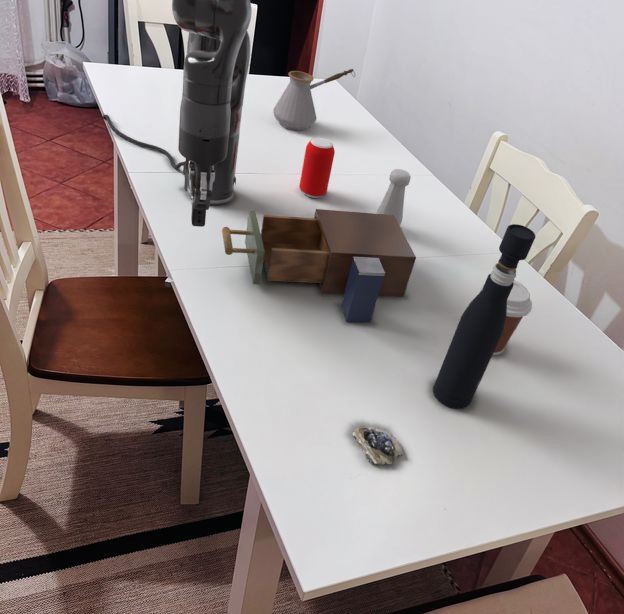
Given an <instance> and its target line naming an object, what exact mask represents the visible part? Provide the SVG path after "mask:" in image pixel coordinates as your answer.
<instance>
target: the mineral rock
mask: <svg viewBox="0 0 624 614" xmlns="http://www.w3.org/2000/svg"><path fill="white" fill-rule="evenodd" d="M352 436H353V437H354V438H355V441H356V442H357V443H359V446H360V447H361V448H362V452H363V453H365V457H366V460H368V462H369V463H371V464H373V465H374V464H375V465H376V464H377V465H380V466H381V465H385V464H387V465H392V464H393V463H394V460H395V461H397V459H398V456H402V455H405V450H404V449H403V447H402V445H401V443H400V441H399V440H397V439H396V437H395V436H394V435H393V434H392V433H391V432H389V431H387V430H386V429H382V428H379V427H375V428H374V427H373V426H366V425H359V426H357V427H354V430H352Z"/></svg>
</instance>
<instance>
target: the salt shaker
mask: <svg viewBox="0 0 624 614" xmlns="http://www.w3.org/2000/svg"><path fill="white" fill-rule="evenodd" d="M411 177H412V176H411V174H410V173H409V171H407V170H405V169H402V168H394V169H392V170H391V172H390V174H389V177H388V179H389V182H390V184H389V185H388V188H387V190H386V191H385V194H384V196H383V198H382V201H381V203H380V205H379V207H378V209H377V211H376V213H375V214H387V215H394V216H395V218H396V220H397V222H398V223H399V225H400V226H401V225H402V222H403V216H404V204H405V203H404V202H405V192H406V187H409V185H410V183H411Z"/></svg>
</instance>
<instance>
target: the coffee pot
mask: <svg viewBox="0 0 624 614" xmlns="http://www.w3.org/2000/svg"><path fill="white" fill-rule="evenodd" d="M287 74H288V78H289V83H288V84H287V86H286V88H285V89H284V91H283V92H282V94H281V95H280V97H279V99H278V101H277V102H276V104H275V106H274V107H273V109H272V113H273V116H274V118H275V120H276V121H277V122H278V123H279V125H280V126H281V127H282V128H285V129H288V130H291V131H296V132H297V131H298V132H300V131H302V132H303V131H306V130H308V128H310V127H312V126H313V125H314V124H315V122H316V121H317V113H316V108H315V104H314V100H313V94H312V89H315V88H317V87H319V86H321V85H324V84H327V83H330V82H333V81H336V80H339V79H340V78H342V77H344V76H348V74H351V76H352V77H353V78H355V77H356V72H355V71H354V68H349V69H348V70H343V72H338V73H336V74H333V75H331V76H329V77H327V78H325V79H323V80H320V81H318V82H315V83H313V84H311V83H312V82H313V81H314V77H313V75H311V74H309V73H307V72H304V71H299V70H291V71H289V72H288V73H287ZM353 74H354V75H353Z"/></svg>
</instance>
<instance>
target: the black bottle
mask: <svg viewBox="0 0 624 614" xmlns="http://www.w3.org/2000/svg"><path fill="white" fill-rule="evenodd" d="M535 239H536V234H535V232H534V231H533V230H532V229H531V228H529V227H527V226H525V225H522V224H517V223H516V224H515V223H512V224H509V225H508V226H507V227H506V229H505V232H504V234H503V237H502V239H501V242H500V244H499V247H498V250H499V252H500V253H501V255H500V257H499V259H498V261H497V262H496V263H495V264H494V266H493V267H492V270H491V271H490V273H488V275H487V277H486V279H485V282H484V284H483V285H484V287H483V289H482V291H481V292H480V291H479V292H478V294H476V296H475V297H474V298H473V299H472V300H471V301H470V302H469V304H467V306H466V308H465V310H464V311H463V313H462V315H461V317H460V319H459V321H458V323H457V326H456V328H455V331H454V334H453V336H452V339H451V341H450V344H449V346H448V349H447V351H446V354H445V357H444V359H443V361H442V364H441V366H440V369H439V371H438V373H437V377H436V378H435V382H434V384H433V386H432V393H433V396H434V398H435V399H436V400H437V401H438V402H439V403H440V404H442V405H444V406H445V407H448V408H450V409H456V410H462V409H465V408H468V407H469V406H470V405H471V403H472V401H473V399H474V397H475V395H476V392H477V390H478V388H479V385H480V384H481V381H482V379H483V377H484V374H485V372H486V371H487V368H488V366H489V364H490V362H491V359H492V358H493V356H494V355H493V353H494V351H495V349H496V346H497V344H498V342H499V340H500V338H501V335H502V333H503V330H504V326H505V321H506V314H507V299H508V297H509V295H510V292H511V290H512V288H513V286H514V284H513V282H514V280H515V278H516V277H517V269H518V266H519V263H520V261H525V260H526V259H527V257H528V255H529V253H530V251H531V248H532V246H533V244H534V242H535Z"/></svg>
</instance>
